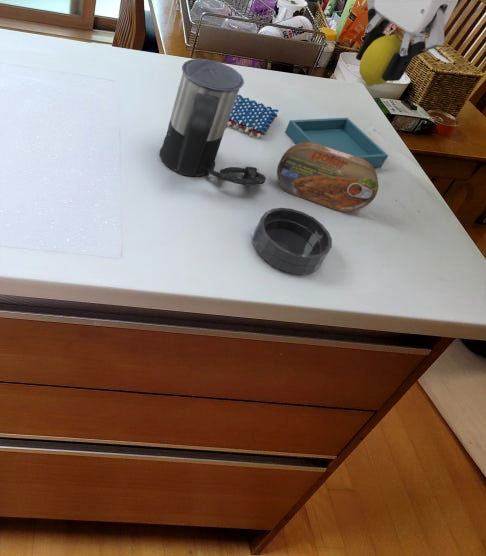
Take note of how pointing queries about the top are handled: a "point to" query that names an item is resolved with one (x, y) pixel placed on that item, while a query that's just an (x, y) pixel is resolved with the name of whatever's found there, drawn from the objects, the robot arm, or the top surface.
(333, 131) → the tray
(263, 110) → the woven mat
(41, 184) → the top surface
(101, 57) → the top surface
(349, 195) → the tin
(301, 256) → the bowl
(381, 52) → the lemon
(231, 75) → the milk frother
